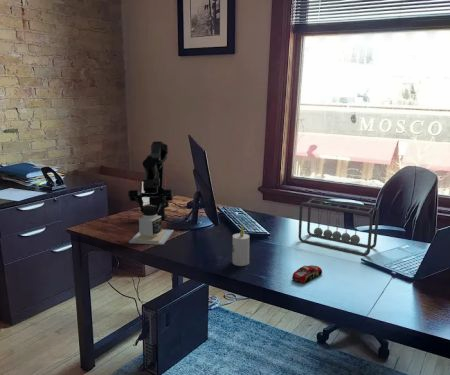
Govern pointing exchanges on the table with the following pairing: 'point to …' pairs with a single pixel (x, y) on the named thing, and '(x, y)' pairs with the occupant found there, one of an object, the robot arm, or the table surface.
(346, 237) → the newton's cradle
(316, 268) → the race car
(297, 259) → the table surface
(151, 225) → the medicine bottle
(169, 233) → the board
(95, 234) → the table surface
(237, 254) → the candle
